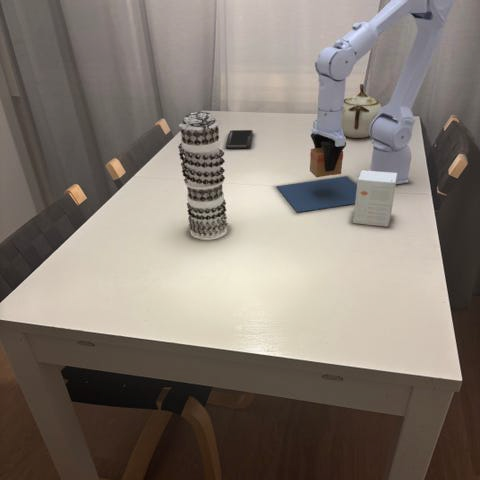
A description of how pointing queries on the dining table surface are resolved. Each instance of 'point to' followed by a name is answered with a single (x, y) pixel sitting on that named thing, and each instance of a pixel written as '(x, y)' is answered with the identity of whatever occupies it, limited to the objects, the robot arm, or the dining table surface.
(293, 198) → the napkin
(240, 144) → the phone
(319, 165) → the packet
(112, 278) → the dining table surface
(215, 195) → the decorative candle
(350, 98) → the sugar bowl
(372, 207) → the small box
